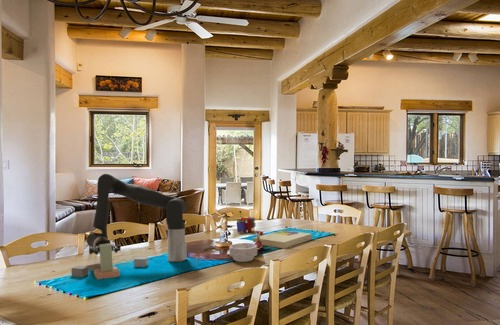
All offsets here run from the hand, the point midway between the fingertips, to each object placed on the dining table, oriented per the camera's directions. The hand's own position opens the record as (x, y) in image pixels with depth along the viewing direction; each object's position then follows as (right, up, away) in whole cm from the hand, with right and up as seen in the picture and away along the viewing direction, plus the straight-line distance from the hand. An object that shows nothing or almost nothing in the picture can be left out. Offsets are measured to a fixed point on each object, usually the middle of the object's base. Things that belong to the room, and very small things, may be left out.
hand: (106, 251), depth 193 cm
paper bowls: (+64, -11, +30) cm, 71 cm away
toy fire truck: (+73, -11, +58) cm, 94 cm away
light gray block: (+11, -11, +19) cm, 25 cm away
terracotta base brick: (-1, -12, +1) cm, 12 cm away
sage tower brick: (-1, -9, +1) cm, 9 cm away
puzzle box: (+89, -11, +79) cm, 120 cm away
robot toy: (+64, -11, +116) cm, 133 cm away
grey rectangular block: (-13, -12, +1) cm, 18 cm away
